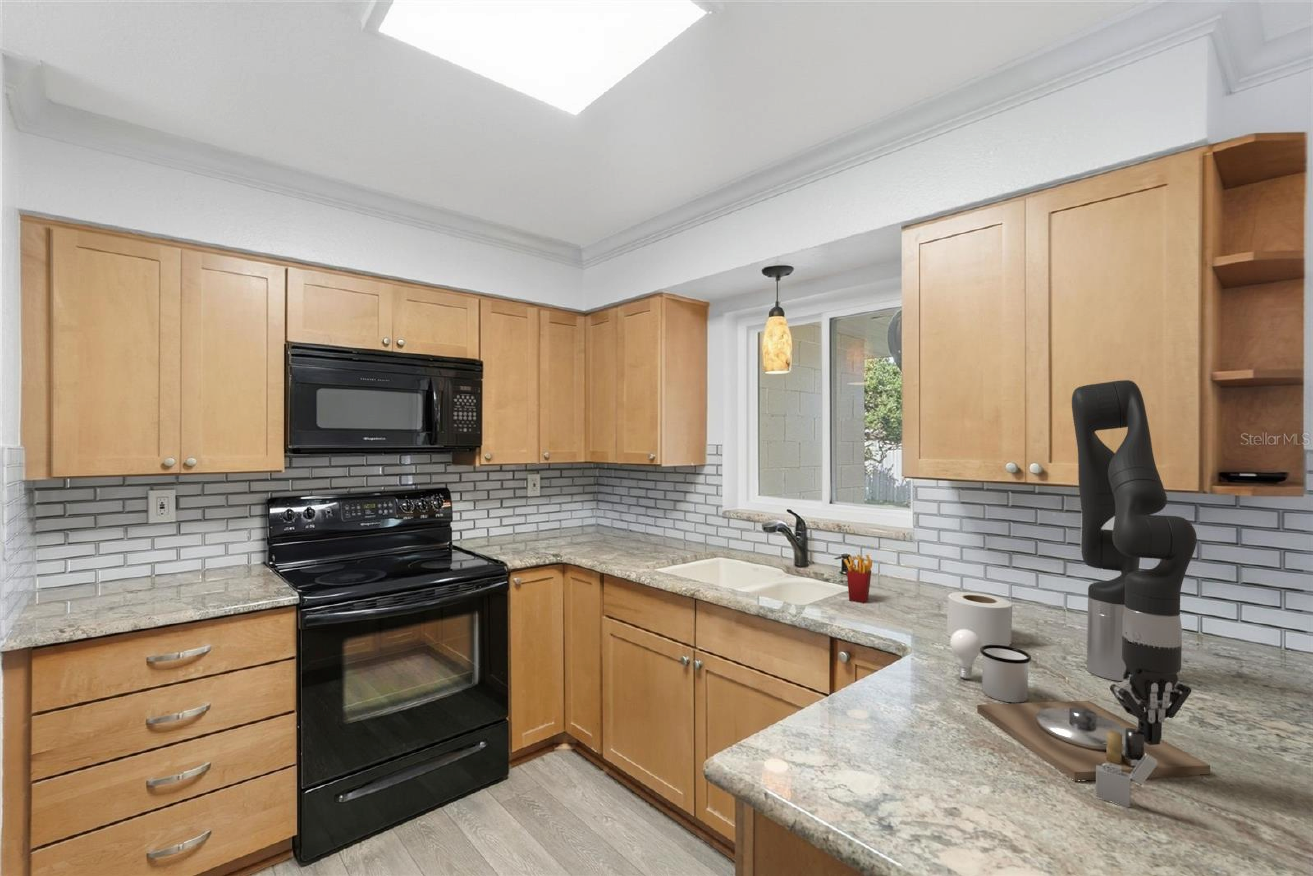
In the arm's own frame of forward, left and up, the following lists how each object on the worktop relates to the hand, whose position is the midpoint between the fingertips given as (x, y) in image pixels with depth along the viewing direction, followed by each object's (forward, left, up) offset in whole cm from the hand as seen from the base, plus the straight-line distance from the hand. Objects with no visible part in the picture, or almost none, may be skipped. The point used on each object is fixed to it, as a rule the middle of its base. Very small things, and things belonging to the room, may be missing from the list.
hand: (1149, 742), depth 99 cm
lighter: (+12, +8, -5) cm, 15 cm away
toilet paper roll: (-14, -64, -5) cm, 66 cm away
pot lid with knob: (+3, -8, -3) cm, 9 cm away
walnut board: (+3, -10, -5) cm, 11 cm away
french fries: (+2, -104, -5) cm, 104 cm away
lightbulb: (+7, -38, -5) cm, 39 cm away
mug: (+3, -30, -5) cm, 31 cm away
